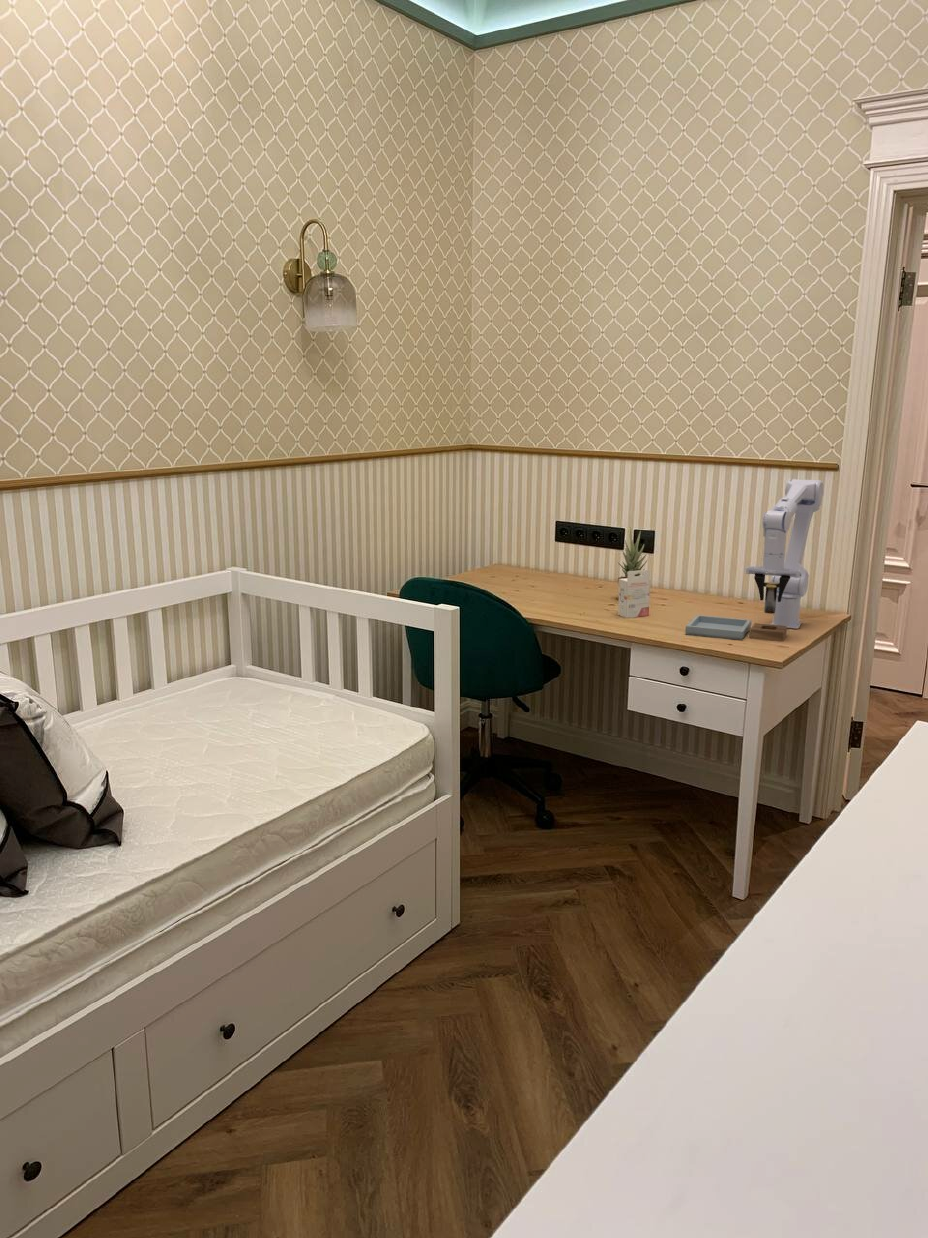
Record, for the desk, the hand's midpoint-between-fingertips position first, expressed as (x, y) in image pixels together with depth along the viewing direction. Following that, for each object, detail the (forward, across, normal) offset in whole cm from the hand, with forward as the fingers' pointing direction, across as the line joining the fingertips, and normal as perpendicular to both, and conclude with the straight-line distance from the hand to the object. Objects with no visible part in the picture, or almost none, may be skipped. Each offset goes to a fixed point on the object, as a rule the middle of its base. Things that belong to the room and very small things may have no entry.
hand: (770, 600), depth 275 cm
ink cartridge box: (+11, -42, +10) cm, 44 cm away
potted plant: (+11, -49, +33) cm, 60 cm away
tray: (+10, -14, 0) cm, 17 cm away
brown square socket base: (+10, 0, 0) cm, 10 cm away
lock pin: (+3, 0, 0) cm, 3 cm away
